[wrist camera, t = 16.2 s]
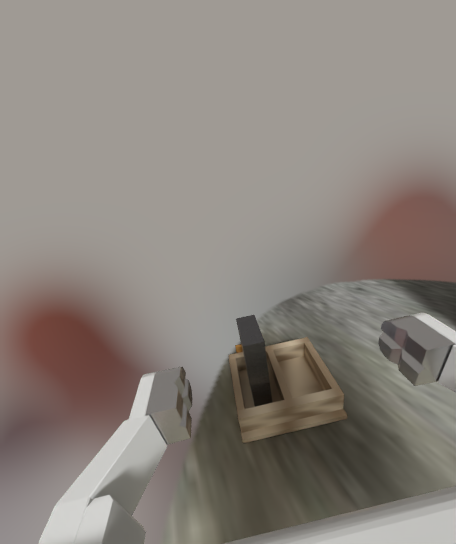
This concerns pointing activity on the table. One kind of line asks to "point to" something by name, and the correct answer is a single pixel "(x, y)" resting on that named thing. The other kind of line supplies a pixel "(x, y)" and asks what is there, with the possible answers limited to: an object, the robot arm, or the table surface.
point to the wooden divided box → (287, 392)
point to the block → (255, 359)
